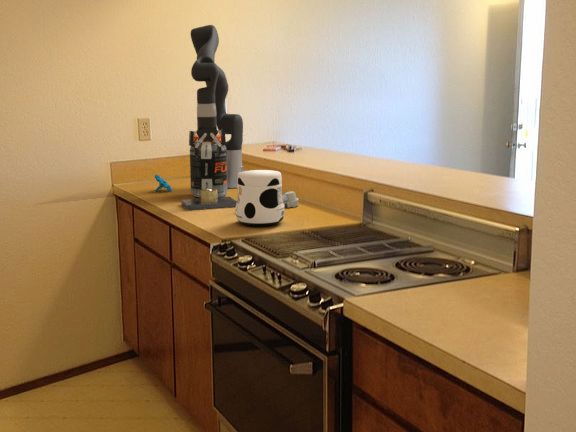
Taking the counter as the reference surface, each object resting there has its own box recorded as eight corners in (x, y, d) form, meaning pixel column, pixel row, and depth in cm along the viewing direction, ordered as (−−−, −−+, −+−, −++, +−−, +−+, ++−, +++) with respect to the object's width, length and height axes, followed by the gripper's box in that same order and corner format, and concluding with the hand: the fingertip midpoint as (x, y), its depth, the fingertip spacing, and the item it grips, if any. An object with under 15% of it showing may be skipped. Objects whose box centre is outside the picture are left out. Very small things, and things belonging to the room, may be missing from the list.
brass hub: (214, 198, 286) (214, 187, 285) (219, 201, 280) (218, 190, 279) (199, 199, 284) (199, 188, 283) (203, 202, 278) (202, 191, 277)
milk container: (229, 220, 255) (227, 171, 251) (273, 216, 262) (273, 168, 258) (245, 230, 239) (244, 178, 236) (292, 226, 246) (292, 174, 242)
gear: (169, 189, 309) (153, 173, 309) (160, 199, 310) (144, 183, 310) (176, 189, 320) (160, 173, 320) (167, 198, 321) (151, 182, 321)
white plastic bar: (237, 202, 270) (292, 187, 282) (239, 218, 272) (295, 203, 283) (243, 204, 266) (299, 189, 277) (245, 221, 268) (301, 205, 279)
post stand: (229, 201, 291) (229, 185, 290) (237, 206, 280) (237, 190, 279) (181, 204, 284) (180, 188, 283) (187, 210, 273) (187, 193, 272)
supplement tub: (217, 199, 294) (215, 137, 289) (184, 197, 300) (182, 136, 295) (233, 193, 309) (232, 134, 303) (202, 191, 315) (200, 133, 309)
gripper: (221, 114, 281) (223, 154, 284) (186, 115, 276) (188, 156, 279) (226, 115, 274) (228, 157, 277) (190, 116, 269) (192, 158, 272)
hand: (208, 156), depth 278 cm, fingers open, 8 cm apart
